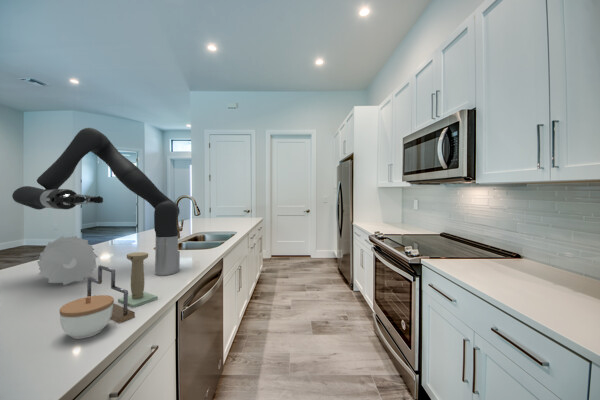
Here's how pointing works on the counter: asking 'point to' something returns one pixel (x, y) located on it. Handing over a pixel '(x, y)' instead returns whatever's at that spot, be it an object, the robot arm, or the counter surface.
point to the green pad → (139, 300)
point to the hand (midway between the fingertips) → (88, 200)
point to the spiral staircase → (67, 260)
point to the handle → (137, 273)
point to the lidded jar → (86, 316)
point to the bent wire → (118, 312)
